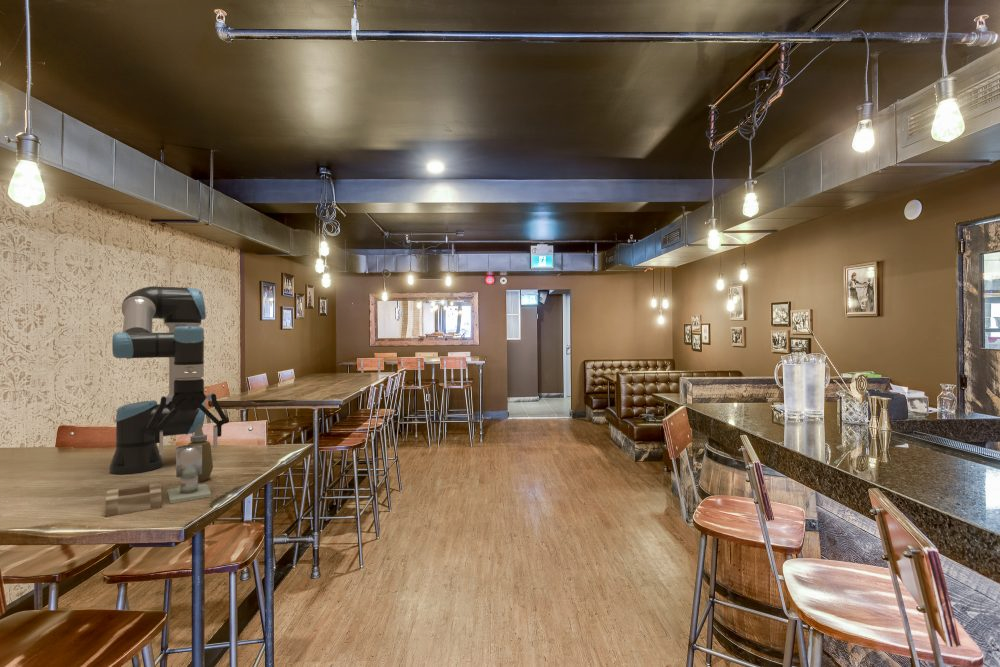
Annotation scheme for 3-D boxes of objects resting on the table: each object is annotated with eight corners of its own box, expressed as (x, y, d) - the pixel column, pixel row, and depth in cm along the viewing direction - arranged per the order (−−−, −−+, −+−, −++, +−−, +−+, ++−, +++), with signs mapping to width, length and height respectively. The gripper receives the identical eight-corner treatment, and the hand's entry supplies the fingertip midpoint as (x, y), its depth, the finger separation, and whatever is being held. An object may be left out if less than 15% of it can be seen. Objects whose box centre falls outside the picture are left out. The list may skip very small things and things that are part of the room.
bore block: (107, 504, 139) (107, 489, 139) (159, 496, 146) (159, 482, 146) (105, 516, 129) (105, 501, 129) (161, 507, 136) (161, 492, 136)
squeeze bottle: (178, 481, 161) (178, 425, 161) (203, 475, 168) (203, 421, 168) (193, 485, 157) (193, 427, 157) (218, 478, 164) (218, 423, 164)
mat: (167, 493, 149) (167, 489, 149) (206, 486, 155) (206, 483, 155) (169, 503, 139) (169, 500, 139) (211, 496, 145) (211, 493, 145)
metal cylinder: (175, 490, 148) (175, 446, 148) (200, 486, 152) (200, 443, 152) (176, 496, 143) (176, 450, 143) (203, 492, 146) (203, 447, 146)
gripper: (136, 382, 137) (136, 459, 137) (238, 377, 152) (238, 447, 152) (136, 379, 143) (136, 454, 143) (234, 375, 158) (234, 442, 158)
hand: (188, 450), depth 147 cm, fingers open, 13 cm apart
